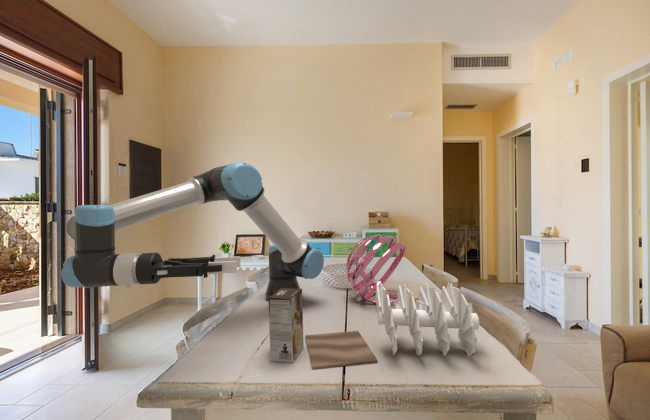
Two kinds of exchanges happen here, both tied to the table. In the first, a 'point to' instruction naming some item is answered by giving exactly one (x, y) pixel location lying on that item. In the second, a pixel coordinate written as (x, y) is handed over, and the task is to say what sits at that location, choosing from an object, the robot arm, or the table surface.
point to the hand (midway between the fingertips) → (238, 264)
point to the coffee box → (285, 324)
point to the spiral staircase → (429, 316)
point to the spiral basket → (367, 259)
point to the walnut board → (338, 350)
